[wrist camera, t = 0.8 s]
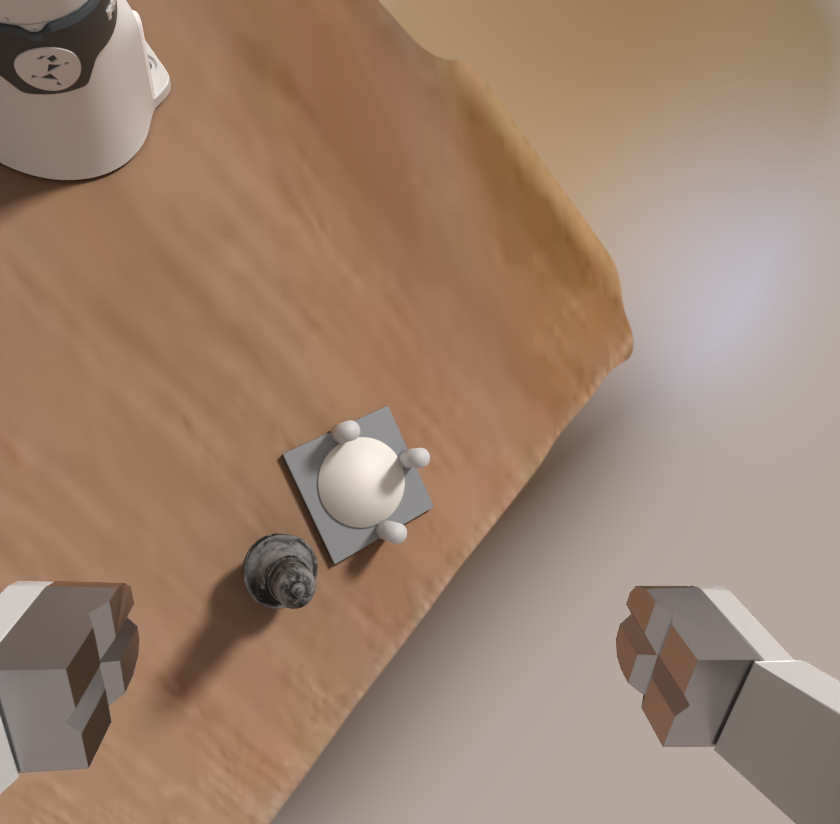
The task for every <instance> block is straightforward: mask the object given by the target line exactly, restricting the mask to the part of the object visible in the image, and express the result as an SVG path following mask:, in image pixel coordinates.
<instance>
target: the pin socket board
mask: <svg viewBox="0 0 840 824" xmlns="http://www.w3.org/2000/svg"><path fill="white" fill-rule="evenodd" d="M282 455H283V457H284V459H285V462H286V464H287V466H288V468H289V470H290V472H291V474H292V476H293V479H294V481H295V483H296V485H297V487H298V489H299V491H300V493H301V496H302V498H303V500H304V502H305V504H306V506H307V508H308V510H309V513H310V515H311V517H312V519H313V521H314V523H315V525H316V527H317V530H318V532H319V534H320V536H321V538H322V540H323V542H324V544H325V547H326V549H327V551H328V553H329V555H330V557H331V559H332V561H333V563H334V564H336V563H338V562H340V561H342V560H343V559H345V558H347V557H348V556H350V555H352V554H354V553H355V552H357V551H359V550H360V549H362V548H364V547H366V546H367V545H369V544H371V543H372V542H374V541H376V540H378V539H379V538H380V539H383V540H386V541H389V542H392V543H395V544H399V543H402V542H403V541H404V540H405V539H406V536H407V530H406V527H405V526H404V525H403V524H405V523H407V522H409V521H410V520H412V519H414V518H415V517H417V516H419V515H421V514H422V513H424V512H426V511H427V510H429V509H431V508H433V507H434V506H433V504H432V502H431V500H430V497H429V495H428V493H427V491H426V489H425V486H424V484H423V482H422V480H421V477H420V475H419V473H418V471H417V469H416V468H422V467H425V466H426V465H427V464H428V463H429V461H430V455H429V453H428V451H427V450H426V449H424V448H415V449H407V447H406V444H405V442H404V440H403V438H402V436H401V433H400V431H399V429H398V427H397V424H396V422H395V420H394V418H393V416H392V413H391V411H390V409H389V407H388V406H386V407H383V408H381V409H379V410H377V411H375V412H373V413H371V414H368V415H366V416H364V417H362V418H360V419H358V420H355V421H351V420H349V421H346V422H343V423H340V424H337V425H335V426H334V427H333V428H332V430H331V432H330V433H327V434H325V435H323V436H321V437H319V438H317V439H314V440H312V441H310V442H308V443H306V444H304V445H301V446H299V447H297V448H295V449H293V450H291V451H288V452H286V453H284V454H282Z"/></svg>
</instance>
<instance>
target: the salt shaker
mask: <svg viewBox="0 0 840 824" xmlns="http://www.w3.org/2000/svg"><path fill="white" fill-rule="evenodd" d="M317 566H318V565H317V560H316V556H315V554H314V552H313V550H312V548H311V547H310V546H309V545H308V544H307V543H306V542H305V541H304V540H302V539H300V538H299V537H296V536H293V535H289V534H271V535H267V536H265V537H263V538H261V539H259V540H258V541H257V542H256V543H255V544H254V545H252V547H251V548H250V550H249V551H248V553H247V555H246V558H245V561H244V582H245V587H246V589H247V591H248V593H249V595H250V596H251V597H252V598H253V599H254V600H255V601H256V602H257V603H259V604H261V605H262V606H264V607H268V608H273V609H280V608H286V607H287V608H291V609H296V608H301V607H303V606H305V605H306V604H308V603H309V601H310V600H311V599H312V597H313V596H314V593H315V587H316V583H315V579H316V576H317Z"/></svg>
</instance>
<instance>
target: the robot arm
mask: <svg viewBox="0 0 840 824" xmlns="http://www.w3.org/2000/svg"><path fill="white" fill-rule="evenodd" d="M150 68H151V69H150ZM170 90H171V83H170V78H169V75H168V73H167V71H166V70H165V68H164V67H163V65H162V64H161V62H160V61H159V59H158V58H157V57H156V55H155V54H154V52H153V51H152V49H151V48H150V46H149V45H148V44H147V42H146V41H145V38H144V33H143V28H142V23H141V20H140V17H139V15H138V13H137V12H136V11H133V10H131V8H130V6H129V5H128V3H127V1H126V0H0V163H2V164H4V165H6V166H8V167H10V168H12V169H15V170H18V171H20V172H23V173H26V174H30V175H33V176H37V177H42V178H48V179H56V180H80V179H88V178H93V177H97V176H100V175H104V174H106V173H109V172H111V171H113V170H115V169H117V168H119V167H121V166H122V165H124V164H125V163H127V162H128V161H129V160H130V159H131V158H132V157H133V156H134V155H135V154H136V153H137V152H138V151H139V149H140V148H141V146H142V145H143V143H144V141H145V139H146V137H147V134H148V131H149V127H150V122H151V118H152V115H153V112H154V110H155V108H156V107H157V106H159V104H160V103H161V102H162V101H163V100H164V99H165V98H166V97H167V95H168V94H169V92H170ZM133 605H134V600H133V595H132V590H131V586H129V585H127V584H125V583H101V582H66V581H55V582H41V581H18V582H15V583H13V584H11V585H9V586H7V587H6V588H5V589H4V590H3V591H2V593H1V594H0V794H1V793H2V792H3V791H4V790H5V789H6V788H7V787H8V786H9V785H11V784H12V783H13V782H14V781H15V780H16V779H17V778H18V777H19V775H18V773H27V772H42V771H57V770H72V769H87V768H89V767H90V765H91V763H92V760H93V758H94V756H95V754H96V752H97V750H98V748H99V746H100V744H101V742H102V740H103V738H104V736H105V734H106V732H107V730H108V727H109V725H110V723H111V717H110V711H109V705H110V704H112V703H113V702H114V701H116V700H117V699H118V698H119V697H121V696H122V695H123V694H124V693H125V692H126V690H127V688H128V685H129V683H130V681H131V679H132V677H133V674H134V670H135V666H136V662H137V658H138V653H139V633H138V626H137V625H135V624H134V623H133V622H132V621H131V620H130V619H129V618H128V617H127V616H128V614H129V612H130V611H131V609H132V607H133ZM626 605H627V606H628V608H629V610H630V612H631V615H630V616H629V617H628V618H626V619H625V620H624V621H623V622H622V623H621V624H620V626H619V630H618V634H617V638H616V647H617V658H618V661H619V664H620V667H621V670H622V672H623V674H624V676H625V678H626V679H627V682H628V683H629V684H630V685H631V686H633V687H634V688H635V689H637V690H638V691H639V692H641V693H642V694H643V701H642V709H643V711H644V713H645V715H646V717H647V719H648V720H649V722H650V724H651V726H652V728H653V729H654V731H655V733H656V735H657V737H658V738H659V740H660V742H661V744H662V746H663V747H715V748H714V750H715V751H716V752H717V753H718V754H719V755H721V756H722V757H723V758H724V759H725V760H726V761H727V762H728V763H729V764H730V765H732V766H733V767H734V768H735V769H736V770H737V771H738V772H739V773H740V774H741V775H743V776H744V777H745V778H746V779H747V780H748V781H749V782H750V783H751V784H753V785H754V786H755V787H756V788H757V789H758V790H759V791H760V792H761V793H763V794H764V795H765V796H766V797H767V798H768V799H769V800H770V801H771V802H772V803H773V804H775V805H776V806H777V807H778V808H779V809H780V810H781V811H783V813H785V814H786V815H787V816H788V817H789V818H790V819H791V820H792V821H793V822H794V823H796V824H840V681H838V680H836V679H835V678H833V677H831V676H829V675H827V674H826V673H824V672H822V671H821V670H819V669H817V668H815V667H814V666H812V665H810V664H808V663H806V662H805V661H794V660H793V659H792V658H791V657H790V655H789V654H788V653H787V652H786V651H785V650H784V649H783V648H782V647H781V646H780V645H779V644H778V643H777V642H776V640H775V639H774V638H773V637H772V636H771V635H770V634H769V633H768V632H767V631H766V630H765V629H764V627H763V626H762V625H761V624H760V623H759V622H758V621H757V620H756V619H755V618H754V617H753V616H752V615H751V614H750V612H749V611H748V610H747V609H746V608H745V607H744V606H743V605H742V604H741V603H740V602H739V601H738V600H737V598H735V596H734V595H733V594H732V593H731V592H730V591H729V590H728V589H726V588H724V587H722V586H720V585H692V586H636V587H635V588H634V589H633V590H632V591H631V592H630V595H629V598H628V601H627V604H626Z"/></svg>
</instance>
